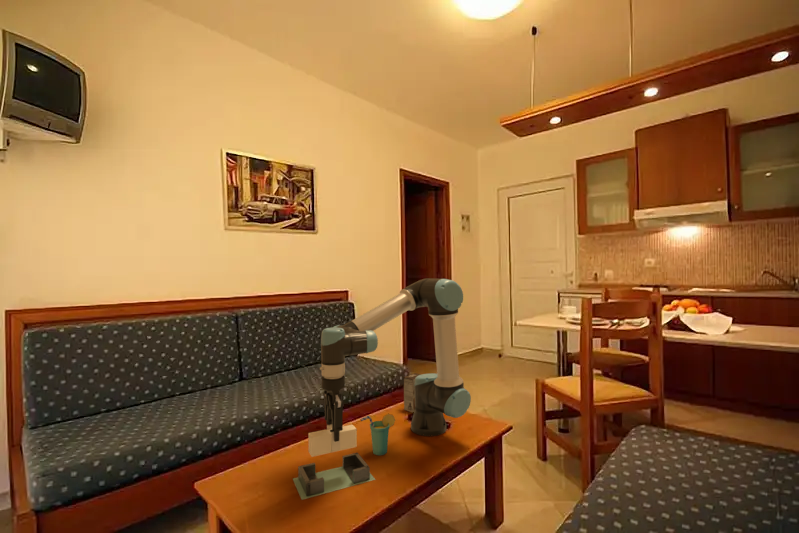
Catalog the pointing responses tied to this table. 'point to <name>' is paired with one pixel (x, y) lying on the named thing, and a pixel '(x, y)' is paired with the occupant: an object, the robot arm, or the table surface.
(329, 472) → the mat
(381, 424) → the cup
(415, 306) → the robot arm
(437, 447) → the table surface
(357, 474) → the grey u-shaped bracket
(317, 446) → the slat
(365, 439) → the table surface
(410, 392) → the coffee box
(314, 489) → the cap
